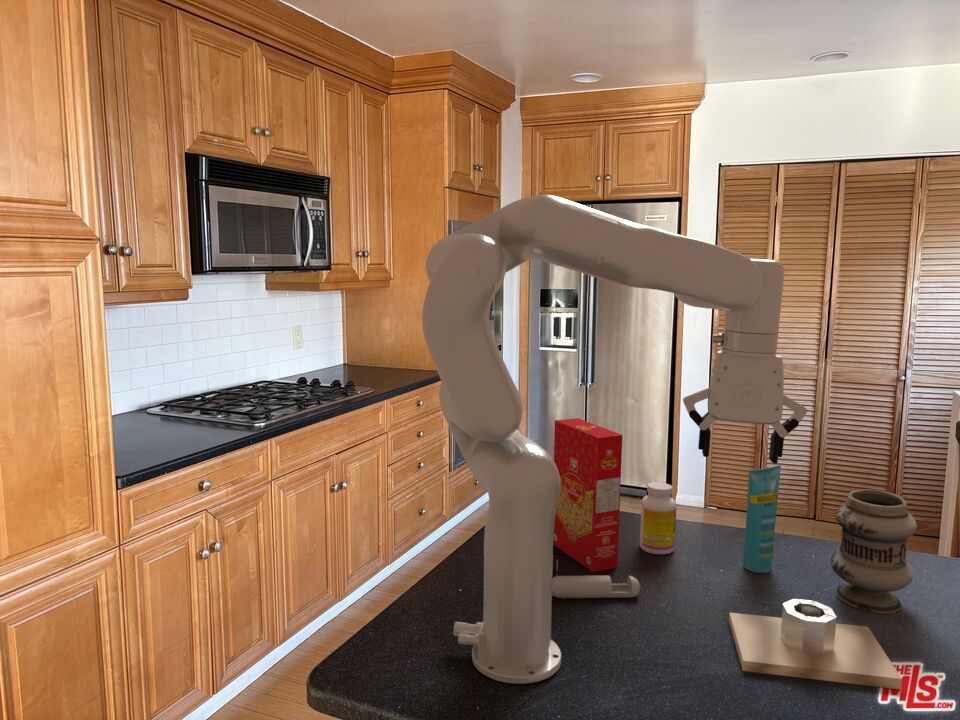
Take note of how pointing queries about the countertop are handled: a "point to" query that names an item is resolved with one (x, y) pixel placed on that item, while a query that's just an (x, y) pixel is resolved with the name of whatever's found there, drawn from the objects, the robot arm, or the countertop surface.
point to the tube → (761, 518)
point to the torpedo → (593, 587)
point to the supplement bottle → (658, 519)
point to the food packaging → (588, 492)
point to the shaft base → (848, 662)
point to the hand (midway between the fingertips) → (738, 458)
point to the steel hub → (808, 628)
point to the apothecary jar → (873, 550)
